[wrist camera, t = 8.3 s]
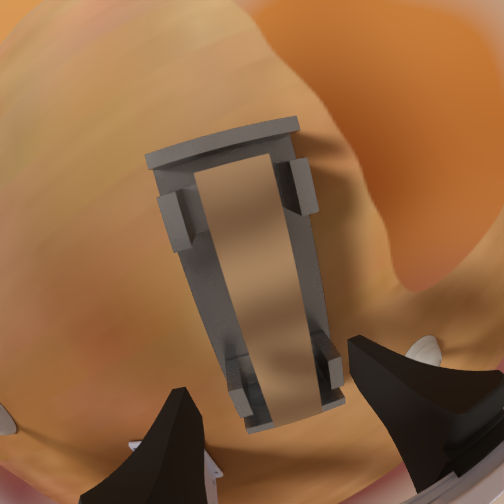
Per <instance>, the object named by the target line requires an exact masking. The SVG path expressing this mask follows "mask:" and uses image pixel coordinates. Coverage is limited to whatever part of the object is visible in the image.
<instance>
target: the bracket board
mask: <svg viewBox="0 0 504 504" xmlns="http://www.w3.org/2000/svg"><path fill="white" fill-rule="evenodd" d="M299 130H300V126H299V123H298V119H297V116H292V117H286V118H281V119H275V120H270V121H265V122H260V123H256V124H251V125H247V126H242V127H238V128H234V129H230V130H226V131H222V132H218V133H214V134H210V135H207V136H203V137H199V138H196V139H192V140H189V141H186V142H182V143H179V144H176V145H173V146H169V147H166V148H163V149H160V150H157V151H154V152H151V153H148V154H146V155H145V158H146V162H147V165H148V169H149V170H153V172H154V176H155V179H156V183H157V186H158V190H159V193H160V196H159V197H157V201H158V204H159V208H160V211H161V214H162V218H163V221H164V224H165V227H166V230H167V234H168V237H169V240H170V243H171V246H172V249H173V252H174V253H175V252H178V254H179V257H180V260H181V263H182V266H183V269H184V272H185V275H186V278H187V281H188V283H189V286H190V289H191V292H192V295H193V297H194V300H195V303H196V305H197V308H198V311H199V313H200V316H201V319H202V321H203V324H204V327H205V329H206V332H207V334H208V337H209V339H210V342H211V344H212V347H213V349H214V352H215V354H216V356H217V359H218V361H219V364H220V366H221V368H222V371H223V373H224V375H225V378H226V380H227V386H228V392H229V395H230V397H231V399H232V401H233V403H234V405H235V408H236V410H237V412H238V414H239V416H240V418H242V417H244V422H245V427H246V430H247V432H248V434H252V433H256V432H260V431H264V430H267V429H271V428H275V426H274V423H273V420H272V418H271V415H270V412H269V410H268V407H267V404H266V401H265V398H264V396H263V393H262V390H261V387H260V384H259V381H258V379H257V376H256V373H255V370H254V367H253V364H252V361H251V358H250V355H249V352H248V349H247V346H246V343H245V340H244V337H243V334H242V331H241V328H240V325H239V322H238V319H237V316H236V313H235V310H234V307H233V304H232V301H231V297H230V294H229V291H228V288H227V285H226V282H225V278H224V275H223V272H222V269H221V265H220V262H219V259H218V256H217V252H216V249H215V246H214V242H213V239H212V236H211V232H210V229H209V225H208V222H207V219H206V215H205V212H204V208H203V205H202V201H201V198H200V194H199V191H198V187H197V183H196V180H195V176H194V173H196V172H199V171H203V170H206V169H210V168H213V167H217V166H221V165H224V164H228V163H232V162H236V161H240V160H244V159H248V158H252V157H256V156H260V155H264V154H269V155H270V159H271V163H272V167H273V171H274V175H275V179H276V183H277V187H278V191H279V195H280V199H281V203H282V208H283V212H284V216H285V220H286V225H287V229H288V234H289V238H290V242H291V247H292V251H293V256H294V261H295V265H296V270H297V275H298V279H299V284H300V289H301V294H302V299H303V304H304V309H305V314H306V319H307V324H308V330H309V335H310V340H311V346H312V351H313V357H314V362H315V368H316V374H317V380H318V386H319V392H320V398H321V404H322V411H323V412H324V411H327V410H330V409H332V408H335V407H338V406H340V405H343V404H345V397H344V395H343V393H342V391H341V390H340V388H339V387H340V386H343V385H344V378H343V367H342V357H341V355H340V353H339V352H338V351H337V349H336V348H335V346H334V345H333V343H332V342H331V339H330V332H329V325H328V318H327V311H326V305H325V299H324V293H323V287H322V281H321V275H320V269H319V264H318V258H317V253H316V248H315V242H314V237H313V232H312V227H311V222H310V218H309V214H313V213H317V212H319V207H318V202H317V198H316V193H315V188H314V184H313V179H312V175H311V171H310V166H309V162H308V158H307V157H305V158H299V159H296V156H295V152H294V148H293V144H292V141H291V137H290V135H291V134H293V133H295V132H297V131H299Z"/></svg>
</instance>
